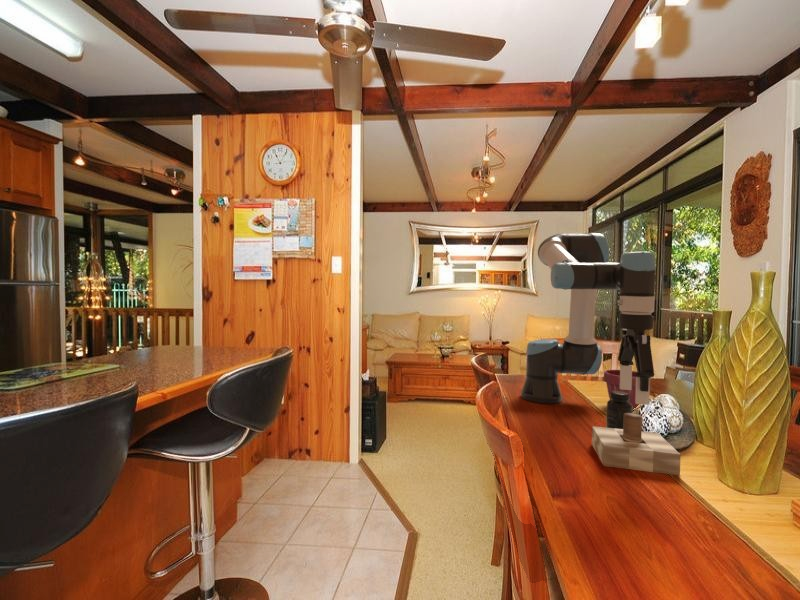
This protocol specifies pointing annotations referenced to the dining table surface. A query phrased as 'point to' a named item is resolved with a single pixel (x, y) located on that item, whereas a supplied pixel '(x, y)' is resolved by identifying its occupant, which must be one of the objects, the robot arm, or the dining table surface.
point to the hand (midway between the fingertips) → (633, 396)
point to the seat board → (635, 451)
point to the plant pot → (614, 384)
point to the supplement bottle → (617, 409)
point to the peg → (632, 428)
